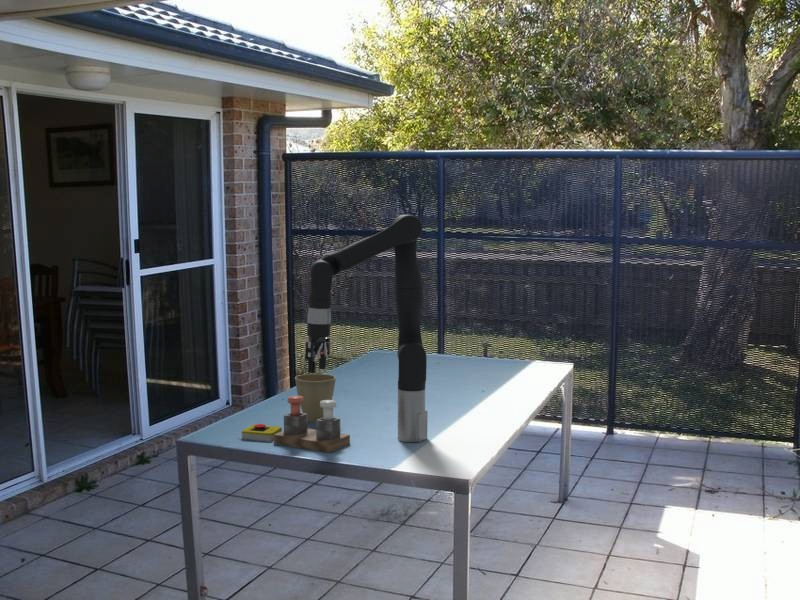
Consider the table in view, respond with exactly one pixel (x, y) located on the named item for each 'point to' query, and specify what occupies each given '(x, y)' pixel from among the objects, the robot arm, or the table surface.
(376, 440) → the table surface
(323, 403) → the white plunger
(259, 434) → the emergency button
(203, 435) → the table surface
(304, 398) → the plant pot
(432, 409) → the table surface
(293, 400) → the red plunger
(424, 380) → the robot arm
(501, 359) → the table surface
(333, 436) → the press board
